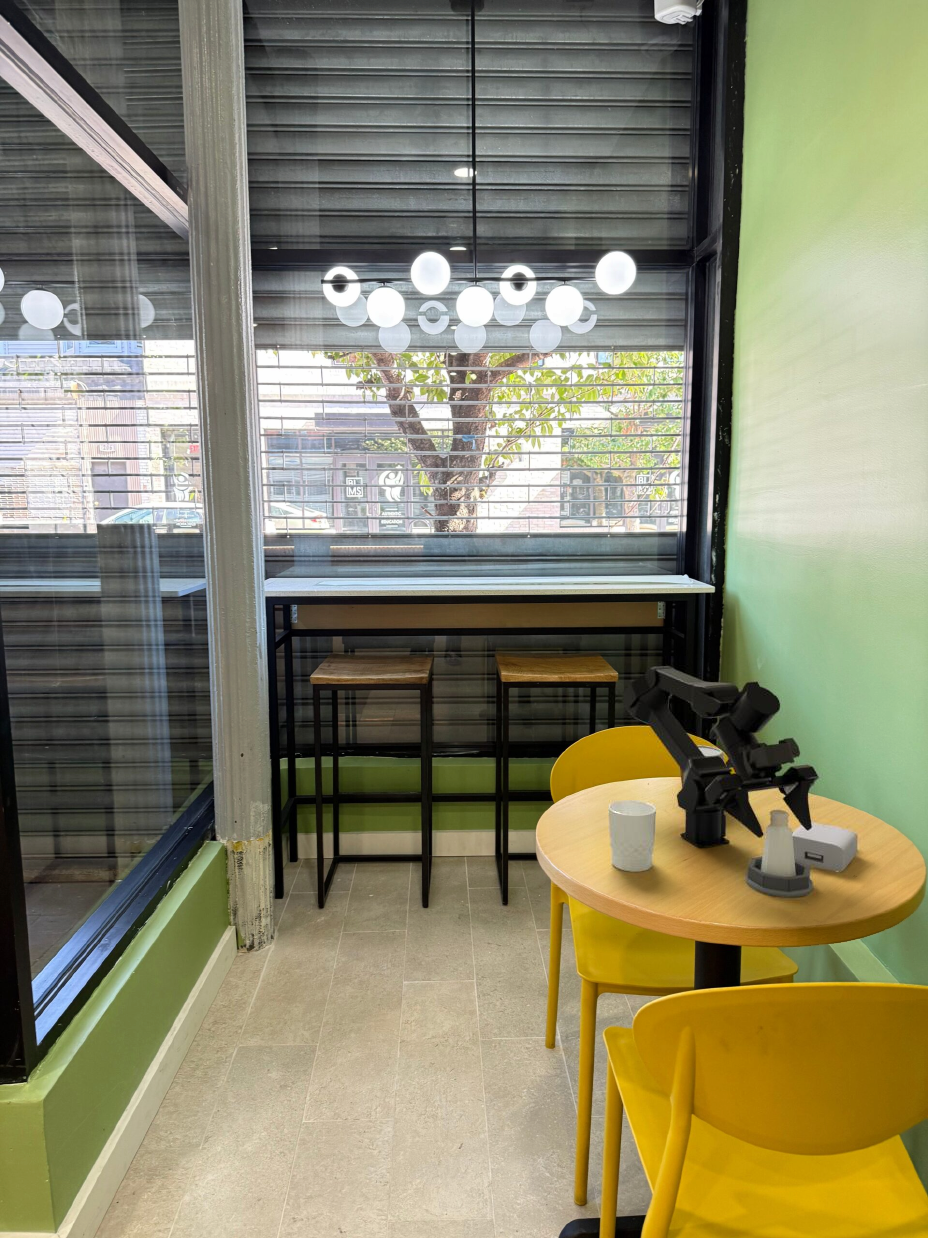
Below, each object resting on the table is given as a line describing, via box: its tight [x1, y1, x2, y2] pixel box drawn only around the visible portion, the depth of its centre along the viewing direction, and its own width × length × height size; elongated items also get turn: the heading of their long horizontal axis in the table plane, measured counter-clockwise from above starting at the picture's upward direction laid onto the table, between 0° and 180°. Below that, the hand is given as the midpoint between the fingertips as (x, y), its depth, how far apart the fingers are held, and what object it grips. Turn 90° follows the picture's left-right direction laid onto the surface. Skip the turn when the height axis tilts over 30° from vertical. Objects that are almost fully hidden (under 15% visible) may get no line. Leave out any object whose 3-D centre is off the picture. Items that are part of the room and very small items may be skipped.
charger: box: [792, 821, 859, 873], centre depth 140 cm, size 5×9×15 cm
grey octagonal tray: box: [745, 855, 814, 899], centre depth 128 cm, size 10×10×3 cm
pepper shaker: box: [761, 809, 796, 877], centre depth 128 cm, size 5×5×11 cm
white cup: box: [608, 799, 657, 873], centre depth 136 cm, size 8×8×10 cm
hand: (785, 833), depth 126 cm, fingers open, 9 cm apart
